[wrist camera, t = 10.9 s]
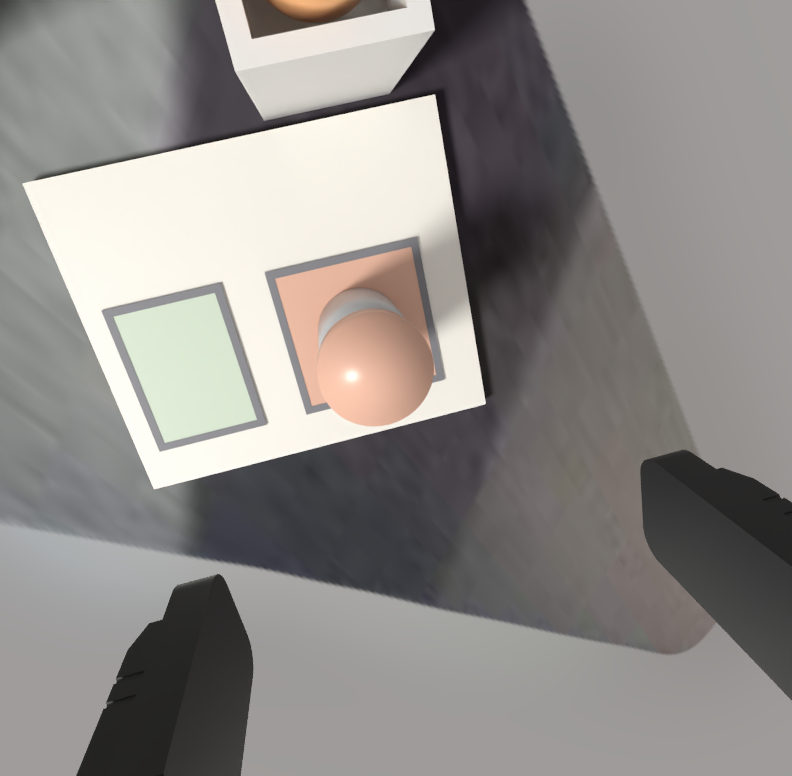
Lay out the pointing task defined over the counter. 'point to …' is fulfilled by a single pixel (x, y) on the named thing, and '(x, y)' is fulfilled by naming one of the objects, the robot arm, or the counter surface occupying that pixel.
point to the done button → (314, 9)
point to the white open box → (322, 52)
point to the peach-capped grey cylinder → (371, 359)
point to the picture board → (259, 279)
